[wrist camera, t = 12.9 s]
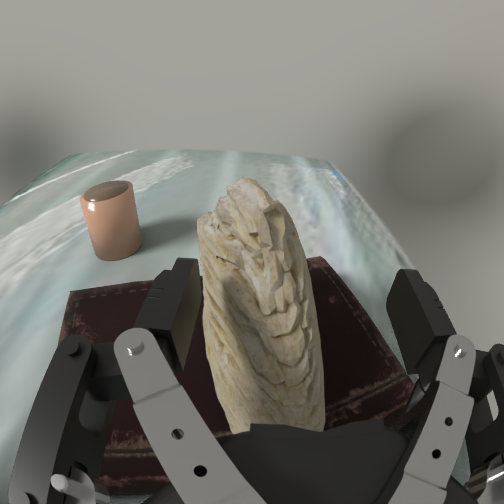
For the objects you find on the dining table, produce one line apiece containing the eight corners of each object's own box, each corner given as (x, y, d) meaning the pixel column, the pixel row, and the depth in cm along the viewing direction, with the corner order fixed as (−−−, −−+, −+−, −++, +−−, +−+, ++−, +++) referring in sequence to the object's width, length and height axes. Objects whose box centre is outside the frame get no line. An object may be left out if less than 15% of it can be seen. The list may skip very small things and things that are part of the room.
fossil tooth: (235, 475, 12) (195, 288, 23) (338, 445, 14) (269, 275, 25) (205, 443, 5) (172, 155, 16) (443, 359, 6) (275, 144, 17)
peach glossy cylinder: (86, 258, 33) (69, 203, 29) (108, 231, 39) (97, 180, 34) (130, 262, 33) (116, 201, 28) (149, 232, 39) (140, 178, 34)
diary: (398, 426, 18) (428, 399, 15) (84, 496, 12) (48, 484, 9) (311, 283, 32) (318, 246, 29) (88, 319, 26) (71, 284, 23)
